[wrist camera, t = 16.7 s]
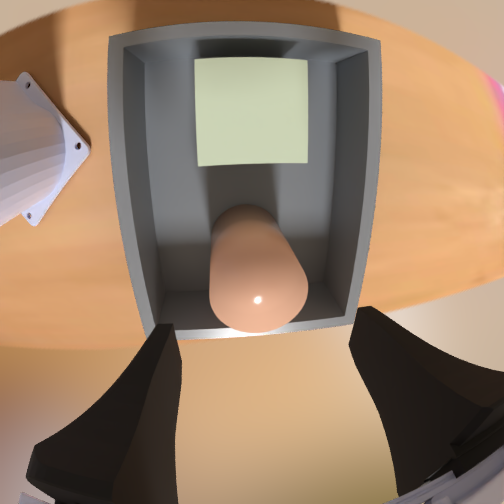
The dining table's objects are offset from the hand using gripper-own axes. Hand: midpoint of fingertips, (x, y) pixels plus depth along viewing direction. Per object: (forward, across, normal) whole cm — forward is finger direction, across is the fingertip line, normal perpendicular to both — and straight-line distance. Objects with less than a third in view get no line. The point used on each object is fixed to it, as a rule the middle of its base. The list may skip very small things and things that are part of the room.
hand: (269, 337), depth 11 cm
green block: (+10, 0, -8) cm, 13 cm away
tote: (+10, 0, -4) cm, 11 cm away
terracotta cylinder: (+10, 0, 0) cm, 10 cm away
